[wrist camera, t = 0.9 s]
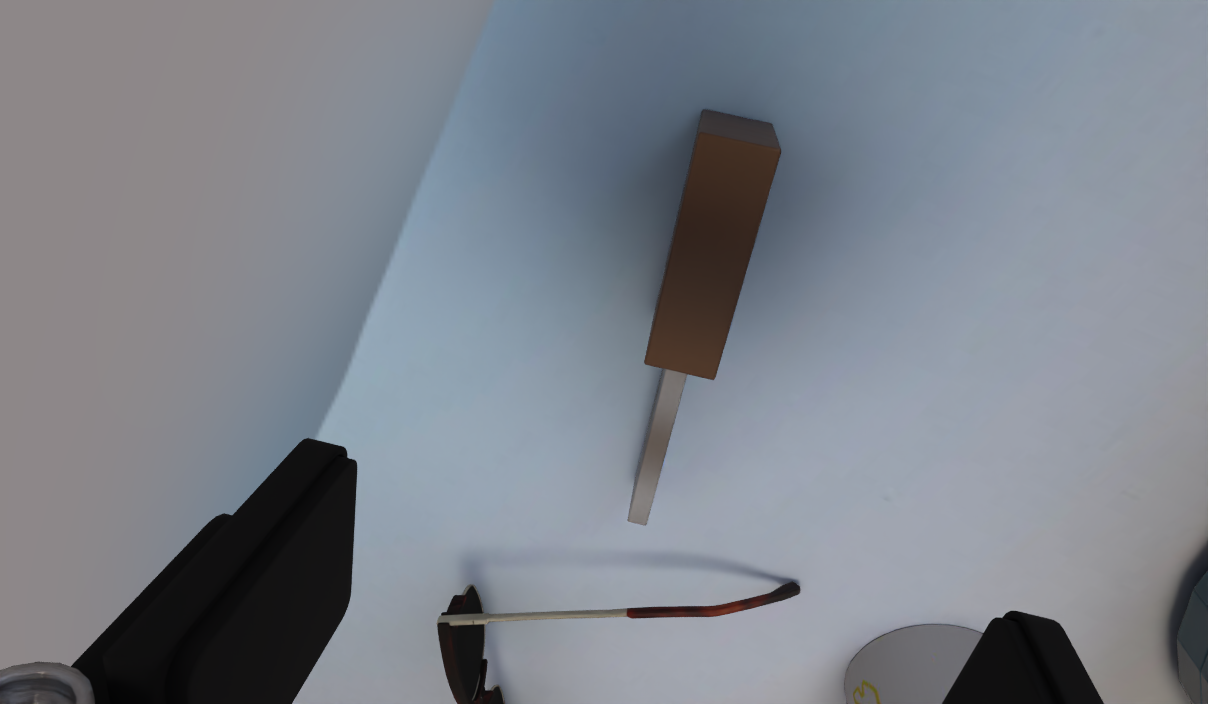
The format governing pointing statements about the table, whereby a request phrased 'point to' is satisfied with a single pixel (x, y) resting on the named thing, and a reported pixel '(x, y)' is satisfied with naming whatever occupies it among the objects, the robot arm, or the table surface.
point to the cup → (910, 665)
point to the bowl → (1195, 645)
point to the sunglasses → (467, 619)
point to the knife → (703, 272)
